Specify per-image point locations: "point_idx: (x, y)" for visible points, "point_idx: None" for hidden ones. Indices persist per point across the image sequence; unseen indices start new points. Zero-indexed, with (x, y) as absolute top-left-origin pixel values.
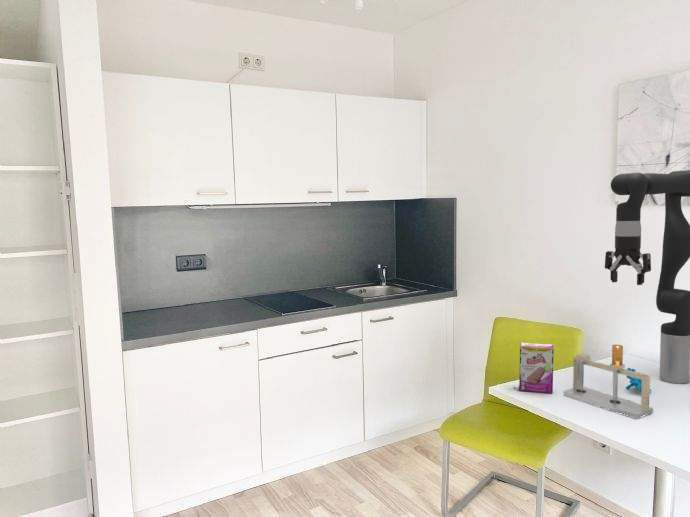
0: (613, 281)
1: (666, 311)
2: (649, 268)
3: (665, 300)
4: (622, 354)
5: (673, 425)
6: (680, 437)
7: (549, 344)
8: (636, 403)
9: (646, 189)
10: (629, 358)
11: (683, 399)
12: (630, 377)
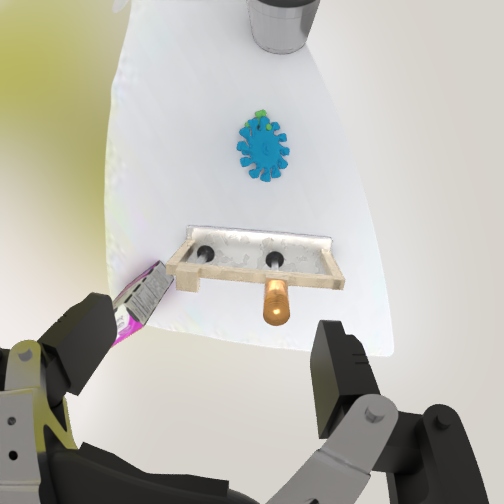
0: (114, 340)
1: None
2: (448, 443)
3: None
4: (288, 301)
5: (368, 264)
6: (383, 296)
7: (119, 308)
8: (304, 240)
9: None
10: None
11: (343, 131)
12: (259, 173)
